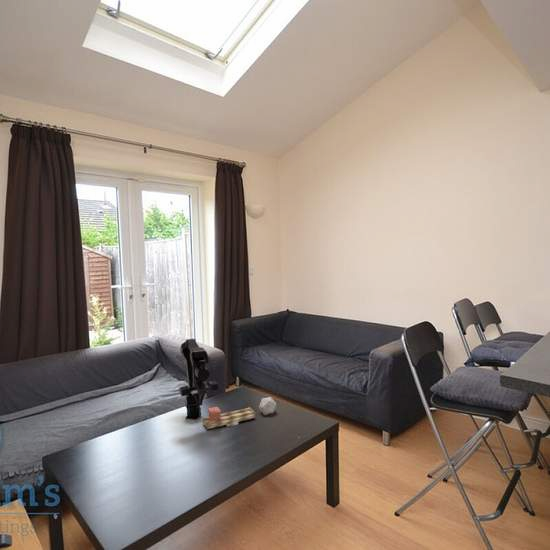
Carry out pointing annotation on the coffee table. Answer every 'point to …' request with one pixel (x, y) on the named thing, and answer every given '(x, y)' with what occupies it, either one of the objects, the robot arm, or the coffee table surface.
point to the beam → (230, 418)
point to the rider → (214, 413)
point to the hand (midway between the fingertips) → (199, 405)
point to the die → (267, 405)
